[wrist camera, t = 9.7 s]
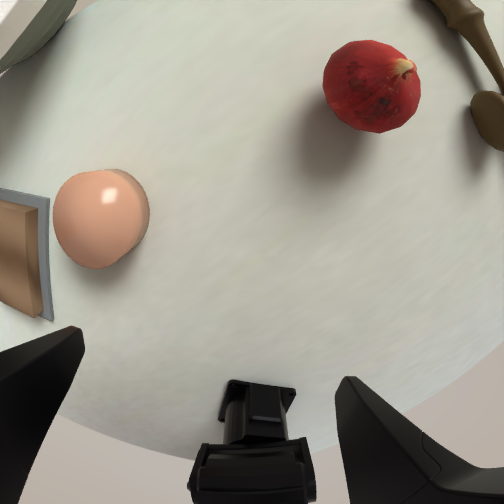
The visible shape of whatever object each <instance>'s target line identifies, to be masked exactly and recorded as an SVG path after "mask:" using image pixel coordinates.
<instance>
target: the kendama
mask: <svg viewBox="0 0 504 504" xmlns="http://www.w3.org/2000/svg"><path fill="white" fill-rule="evenodd" d="M432 1H433V2H434V3H435V4H436V5H437V6H438V7H439V8H440V9H441V10H442V12H443V13H444V15H445V17H446V19H447V26H448V27H449V28H452V29H454V30H456V31H458V32H459V33H460V34H461V35H462V36H463V37H464V38H465V39H466V40H467V41H468V42H469V43H470V45H471V46H472V47H473V48H474V50H475V51H476V52H477V54H478V55H479V56H480V58H481V59H482V60H483V62H484V63H485V65H486V66H487V68H488V69H489V71H490V73H491V74H492V76H493V77H494V79H495V81H496V83H497V84H498V86H499V88H500V90H501V92H502V94H503V96H502V95H500V94H498V93H496V92H494V91H480V92H478V93H476V94H475V95H474V96H473V98H472V100H471V113H472V116H473V119H474V121H475V124H476V126H477V128H478V130H479V132H480V134H481V135H482V137H483V138H484V139H485V140H486V142H487V143H488V144H489V145H491V146H492V147H494V148H495V149H497V150H500V151H504V68H503V66H502V63H501V61H500V58H499V56H498V54H497V51H496V49H495V47H494V45H493V42H492V40H491V38H490V36H489V33H488V31H487V29H486V26H485V23H484V12H483V11H482V10H481V9H479V8H478V7H476V6H475V5H474V4H473V3H472V2H471V1H470V0H432Z"/></svg>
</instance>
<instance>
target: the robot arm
mask: <svg viewBox="0 0 504 504" xmlns="http://www.w3.org/2000/svg"><path fill="white" fill-rule="evenodd" d="M84 352H85V344H84V338H83V332H82V330H81V329H80V328H77V327H74V326H69V327H66V328H63V329H61V330H58V331H55V332H53V333H50V334H47V335H45V336H42V337H39V338H37V339H34V340H31V341H29V342H26V343H23V344H21V345H18V346H15V347H13V348H10V349H7V350H5V351H2V352H0V504H18V502H19V499H20V496H21V494H22V491H23V488H24V486H25V483H26V480H27V478H28V474H29V472H30V470H31V467H32V465H33V463H34V460H35V458H36V456H37V453H38V451H39V449H40V447H41V444H42V442H43V440H44V438H45V436H46V434H47V431H48V429H49V427H50V425H51V423H52V421H53V419H54V417H55V415H56V413H57V411H58V409H59V407H60V405H61V403H62V402H63V400H64V398H65V396H66V394H67V392H68V390H69V388H70V386H71V384H72V382H73V379H74V377H75V374H76V372H77V369H78V367H79V365H80V362H81V360H82V358H83V355H84ZM232 384H234V385H232ZM295 396H296V390H295V389H293V388H286V387H278V386H270V385H263V384H257V383H250V382H244V381H238V380H230V381H229V382H228V384H227V388H226V391H225V395H224V398H223V402H222V405H221V409H220V412H219V416H218V420H219V421H220V422H223V423H225V427H224V440H223V444H209V443H202V445H201V448H200V450H199V451H198V454H197V457H196V460H195V463H194V466H193V469H192V472H191V475H190V478H189V482H188V483H187V489H188V490H189V491H190V492H191V497H192V501H193V503H194V504H308V503H310V502H315V501H316V481H315V473H314V468H313V464H312V460H311V456H310V451H309V447H308V443H307V439H306V437H302V438H299V439H294V440H289V439H288V430H287V422H286V413H287V411H288V409H289V407H290V405H291V404H292V402H293V400H294V398H295ZM335 407H336V419H337V431H338V438H339V443H340V448H341V454H342V459H343V463H344V470H345V475H346V481H347V487H348V493H349V499H350V504H504V467H501V468H479V467H476V466H473V465H471V464H470V463H468V462H467V461H465V460H463V459H462V458H460V457H458V456H457V455H455V454H454V453H452V452H450V451H449V450H447V449H446V448H444V447H443V446H441V445H440V444H439V443H437V442H435V440H433V439H432V438H431V437H429V436H428V435H427V434H425V433H424V432H422V430H420V429H419V428H418V427H417V426H415V425H414V424H413V423H412V422H410V421H409V420H408V419H407V418H405V417H404V416H403V415H402V414H401V413H399V412H398V411H397V410H396V409H395V408H393V407H392V406H391V405H390V404H388V403H387V402H386V401H385V400H384V399H382V398H381V397H380V396H379V395H378V394H376V393H375V392H374V391H373V390H372V389H370V388H369V387H368V386H367V385H366V384H364V383H363V382H362V381H361V380H360V379H358V378H357V377H356V376H345V377H344V378H343V379H342V381H341V383H340V385H339V387H338V389H337V391H336V393H335Z"/></svg>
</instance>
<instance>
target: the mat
mask: <svg viewBox="0 0 504 504" xmlns="http://www.w3.org/2000/svg"><path fill="white" fill-rule="evenodd" d="M0 199H1V200H5V201H9V202H14V203H18V204H22V205H27V206H31V207H35V208H38V254H39V270H40V282H41V291H42V299H43V307H44V310H43V311H41V312H40V313H39V314H38V315H39V316H41V317H43V318H45V319H48V320H50V321H52V320H54V314H53V306H52V297H51V286H50V272H49V244H48V230H49V203H50V198H46V197H41V196H36V195H31V194H26V193H22V192H17V191H12V190H7V189H2V188H0Z"/></svg>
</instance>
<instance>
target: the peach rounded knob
mask: <svg viewBox="0 0 504 504" xmlns="http://www.w3.org/2000/svg"><path fill="white" fill-rule="evenodd" d="M149 216H150V209H149V202H148V199H147V196H146V193H145V191H144V189H143V187H142V186H141V185H140V183H139V182H138V181H137V180H136V179H135V178H134V177H133V176H132V175H130V174H128V173H127V172H124V171H122V170H118V169H106V170H98V171H90V172H83V173H79V174H76V175H74V176H72V177H71V178H69V179H68V180H67V181H66V182H65V183H64V184H63V186H62V187H61V188H60V190H59V192H58V194H57V196H56V199H55V202H54V207H53V225H54V230H55V234H56V237H57V239H58V242H59V244H60V245H61V247H62V249H63V250H64V251H65V253H66V254H67V255H68V256H69V257H70V258H71V259H72V260H73V261H75V262H76V263H78V264H80V265H82V266H84V267H87V268H92V269H100V268H105V267H107V266H110V265H112V264H113V263H115V262H116V261H117V260H118V259H119V258H121V257H122V256H123V255H124V254H126V253H127V252H128V251H129V250H130V249H132V248H133V247H134V246H135V245H136V244H138V243H139V241H140V240H141V239H142V238H143V236H144V234H145V232H146V230H147V227H148V223H149Z"/></svg>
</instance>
